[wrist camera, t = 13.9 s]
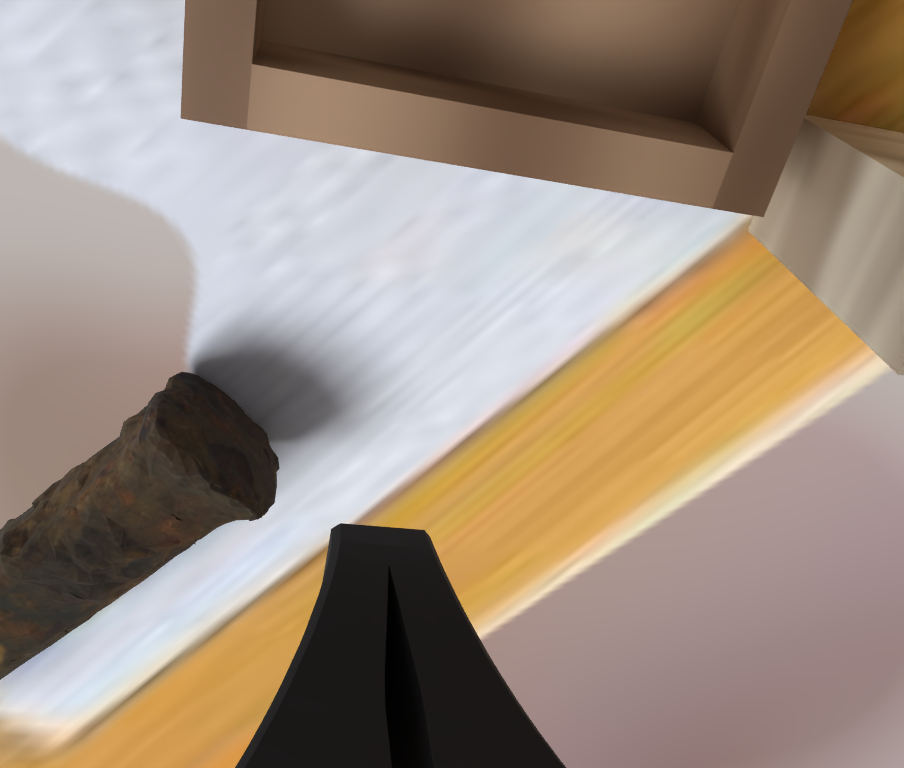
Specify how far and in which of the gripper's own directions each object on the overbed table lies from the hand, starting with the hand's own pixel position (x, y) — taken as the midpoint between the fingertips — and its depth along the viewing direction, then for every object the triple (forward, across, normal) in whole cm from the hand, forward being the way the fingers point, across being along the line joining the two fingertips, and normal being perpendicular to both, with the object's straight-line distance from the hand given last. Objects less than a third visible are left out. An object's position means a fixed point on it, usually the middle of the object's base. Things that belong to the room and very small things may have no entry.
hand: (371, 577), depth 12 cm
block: (+10, -11, -4) cm, 16 cm away
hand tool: (+11, +8, +11) cm, 18 cm away
